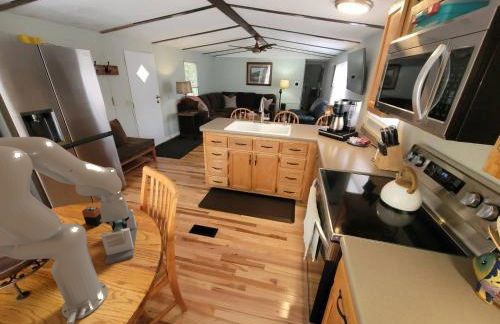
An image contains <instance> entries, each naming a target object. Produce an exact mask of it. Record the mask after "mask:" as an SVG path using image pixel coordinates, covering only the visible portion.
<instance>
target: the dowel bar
mask: <svg viewBox="0 0 500 324" xmlns="http://www.w3.org/2000/svg"><path fill="white" fill-rule="evenodd" d="M122 228H123V226H122V219H121V220H117V222H116V225H115V228H114V232H113V231H112V232H111V233H109V234H106V235H105V237H106V241H107V244H108V247H113V246H117V245H122V244H125V238H124V234H123V231H121V229H122Z"/></svg>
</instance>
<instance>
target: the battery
mask: <svg viewBox="0 0 500 324" xmlns="http://www.w3.org/2000/svg"><path fill="white" fill-rule="evenodd" d="M81 213H82V216H83V218H84V221H85V225H86V226H91V227H99V226H100V225H101V224H102V223H103V222H100V219H101V212H100V207H99V206H97V207H95V206H86V207H85V208H84V209H83V210H81Z"/></svg>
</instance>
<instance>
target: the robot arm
mask: <svg viewBox="0 0 500 324" xmlns="http://www.w3.org/2000/svg"><path fill="white" fill-rule="evenodd" d="M33 170H34V171H36V172H37V173H40V174H42V175H44V176H46V177H49V178H51V179H53V180H54V181H57V182H58V183H61V184H67V185H75V192H76V193H77V194H78V195H80V196H84V197H95V198H96V199H100V200H99V208H100V212H101V219H100V222H102V223H104V224H107V225H109V226H110V227H111V230H112V231H113V230H114V228H115V225H116V222H114V221H115V220H121V219H122V226H123V229H126V228H127V223H126V221H127V220H128V219H129V218H131V217H132V216H133V215H134V216H135V214H134V211H133V212H132V211H131V209H130V207H129V204H128V202H127V199H126V197H125V195H124V194H122V187H123V182H122V180H121V178H120V177H119V176H118V173H117V169H116V168H114V167H109V166H107V167H104V166H101V165H98V164H95V163H91V162H88V161H84V160H82V159H79V158H78V157H76V156H75V155H74V154H72V153H71V152H69V151H68V150H66V149H65V148H64V147H63V146H61V145H60V144H58V143H56V142H55V141H54V140H51V139H49V138H46V137H41V136H5V137H0V255H4V256H6V257H8V258H11V259H15V260H21V261H22V260H39V259H40V260H41V259H52V260H54V262H53V264H52V266H51V269H50V270H51V271H50V272H51V275H52V277H53V279H54V282H55V284H56V286H57V287H58V290H59V292H60V294H61V297H62V299H63V301H64V302H63V305H62V307H61V314H62V316H63V317H64V318H65V319H66V320H67V321H66V322H65V324H74V323H75V321H76V320H78V319H83V318H84V317H86V316H88V315H90V314H92V313H93V312H94V311H96V310H97V309H98V308H99V307H100V306H101V305H102V304H103V302H105V300H106V299H107V296H108V293H109V289H108V286H107V285H106V283H104V282H102V281H101V282H100V280H99V277H98V274H97V272H96V269H95V266H94V264H93V261H92V257H91V255H90V251H89V247H88V234H87V230H86V228H85V226H83V225H81V224H77V223H62V220H61V218H60V216H59V215H58V214H57V213H56V212H55V211H54V210H52V209H51V208H50V207H48V206H47V205H45V204H44V203H42V202H41V201H40V200H38V199H37V198H36V197H35V196H34V195H33V194H32V193H31V180H32V174H33Z"/></svg>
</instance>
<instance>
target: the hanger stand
mask: <svg viewBox="0 0 500 324" xmlns="http://www.w3.org/2000/svg"><path fill="white" fill-rule="evenodd" d="M130 210H131V211H132V212H133V213H134V209H133V208H132V209H130ZM114 222H117V220H115V221H114ZM126 223H127V228H126V229H123V228H122V229H121V231H123V234H124V238H125V244H122V245H117V246H113V247H108V244H107V241H106V237H105V235H106V234H109V233H113V232H114V230H112V232H111V231H109V232H103V233H101V235H100V237H101V240H102V244H103V247H104V251H105V254H106V258H105V262H104V263H105V265H110V264H113V263H118V262H121V261H125V260H129V259H132V258H134V254H135V246H136V240H137V239H136V237H137V233H138V232H137V231H138V222H137V221H136V218H135V214H134V215H133V216H132V217H131V218H129V219H128V220H127V221H126Z"/></svg>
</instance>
